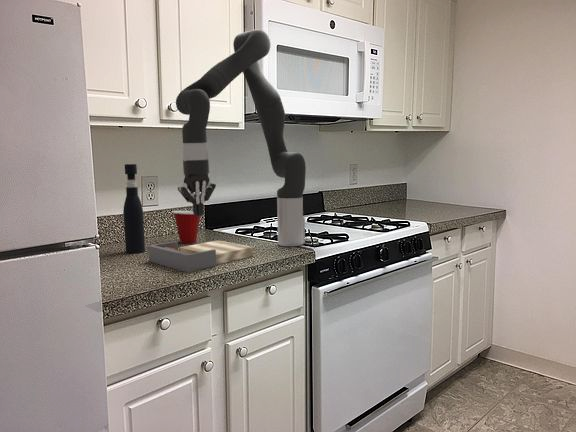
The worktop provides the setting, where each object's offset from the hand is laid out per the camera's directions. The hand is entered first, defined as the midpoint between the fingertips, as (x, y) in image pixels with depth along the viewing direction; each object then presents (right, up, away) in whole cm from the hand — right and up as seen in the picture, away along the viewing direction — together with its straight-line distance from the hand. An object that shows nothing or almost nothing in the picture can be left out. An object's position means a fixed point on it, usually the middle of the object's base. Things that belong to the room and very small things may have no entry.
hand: (198, 215), depth 148 cm
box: (-6, -15, +2) cm, 16 cm away
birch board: (+4, -13, +12) cm, 18 cm away
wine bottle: (-25, -13, +20) cm, 35 cm away
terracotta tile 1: (-8, -11, +4) cm, 14 cm away
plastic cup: (-10, -10, +36) cm, 39 cm away
